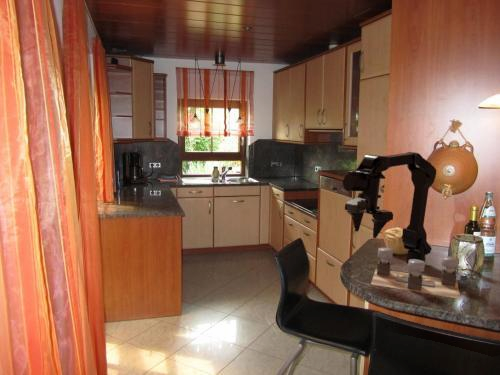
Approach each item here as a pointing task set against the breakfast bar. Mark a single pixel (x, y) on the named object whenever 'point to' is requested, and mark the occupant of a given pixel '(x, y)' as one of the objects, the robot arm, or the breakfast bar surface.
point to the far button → (416, 267)
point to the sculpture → (395, 240)
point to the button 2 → (450, 264)
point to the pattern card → (424, 281)
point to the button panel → (417, 282)
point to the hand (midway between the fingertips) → (365, 234)
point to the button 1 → (385, 255)
